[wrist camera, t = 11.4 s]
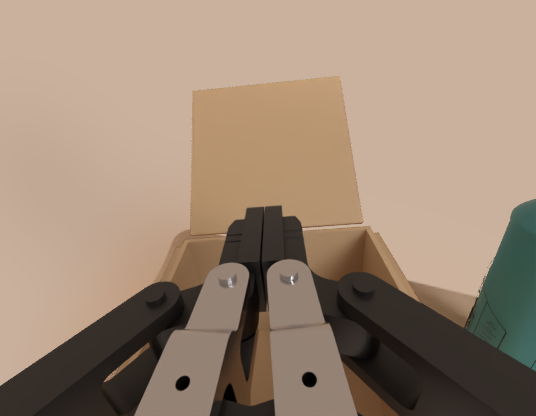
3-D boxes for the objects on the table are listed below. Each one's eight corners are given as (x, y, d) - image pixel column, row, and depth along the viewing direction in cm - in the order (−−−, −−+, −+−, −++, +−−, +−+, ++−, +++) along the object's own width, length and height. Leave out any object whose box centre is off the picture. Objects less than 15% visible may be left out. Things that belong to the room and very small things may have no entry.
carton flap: (363, 222, 23) (361, 223, 23) (339, 75, 27) (338, 79, 27) (190, 235, 24) (192, 236, 24) (192, 91, 28) (194, 94, 28)
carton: (361, 324, 29) (373, 225, 23) (472, 650, 13) (614, 624, 7) (210, 332, 30) (180, 239, 24) (142, 647, 14) (-4, 621, 8)
